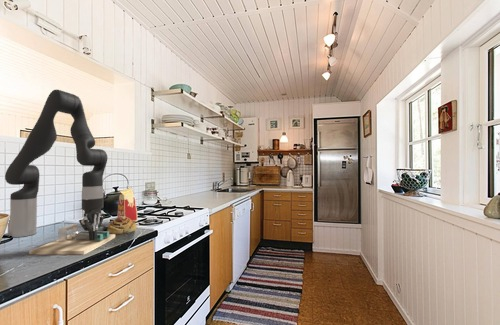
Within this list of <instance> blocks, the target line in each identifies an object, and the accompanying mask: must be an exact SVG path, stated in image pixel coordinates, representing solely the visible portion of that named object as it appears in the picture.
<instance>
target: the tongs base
mask: <svg viewBox="0 0 500 325" xmlns="http://www.w3.org/2000/svg"><path fill="white" fill-rule="evenodd" d="M76 233H89V231H85V230H84V231H79V230H78V231H74V232H72V240H75V236H76ZM97 234H103V238H108V237H109V231H107V230H106V231H104V230H102V231H101V230H97Z"/></svg>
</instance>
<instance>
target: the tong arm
mask: <svg viewBox="0 0 500 325" xmlns="http://www.w3.org/2000/svg"><path fill="white" fill-rule="evenodd" d="M75 239H78V240H89V233H80V232H79V233H76V236H75ZM101 240H103V234H97V239H96V240H95V241H101Z"/></svg>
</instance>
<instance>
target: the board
mask: <svg viewBox="0 0 500 325" xmlns="http://www.w3.org/2000/svg"><path fill="white" fill-rule="evenodd" d="M114 239H116V235H115V234H109V237H108V238H103V240H101V241H95V240H92V241H90V240H78V239H75V240H72V236H70V234H69V235H68V234H67V240H66V241H58V239H56V240H53V241H51V242H48V243H45V244H43V245H41V246H38V247H36V248H34V249H30V250H29V251H28V252H29V253H28V254H29V255H66V256H67V255H86V254H88V253H90V252H92V251H93V250H95V249H97V248H100V247H101V246H103V245H105V244H106V243H108V242H111V240H114Z"/></svg>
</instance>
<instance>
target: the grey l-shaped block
mask: <svg viewBox="0 0 500 325" xmlns="http://www.w3.org/2000/svg"><path fill="white" fill-rule="evenodd" d="M57 231H58V232H57V233H58V234H57V240H58V241H66V240H67V236H68V231H69V235H70V236H72V232H74V231H79V224H78V223H74V224H73V223H70V224H67V225H64V226H61V227H58V230H57Z"/></svg>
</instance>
